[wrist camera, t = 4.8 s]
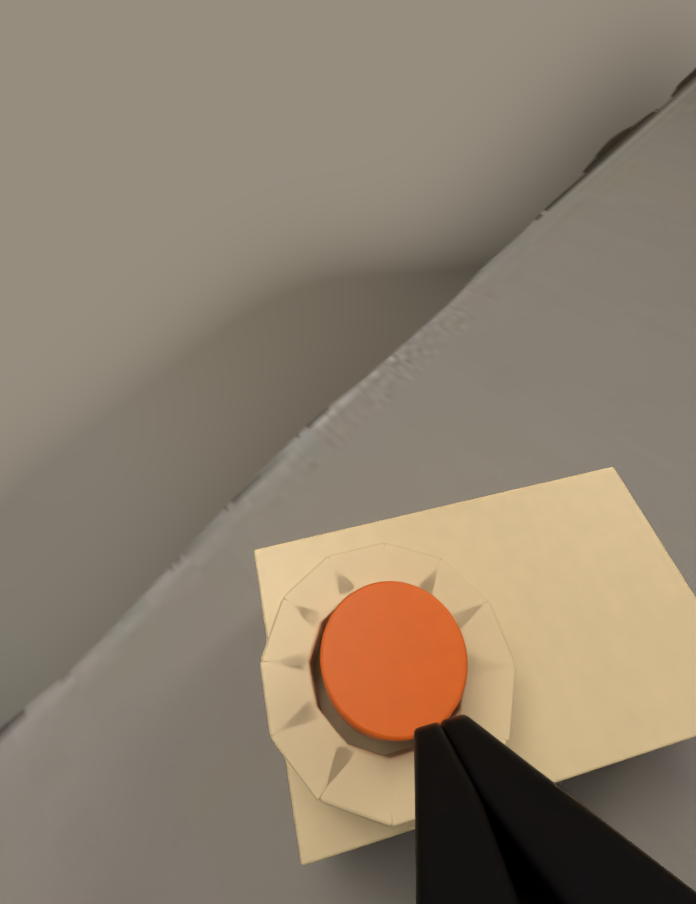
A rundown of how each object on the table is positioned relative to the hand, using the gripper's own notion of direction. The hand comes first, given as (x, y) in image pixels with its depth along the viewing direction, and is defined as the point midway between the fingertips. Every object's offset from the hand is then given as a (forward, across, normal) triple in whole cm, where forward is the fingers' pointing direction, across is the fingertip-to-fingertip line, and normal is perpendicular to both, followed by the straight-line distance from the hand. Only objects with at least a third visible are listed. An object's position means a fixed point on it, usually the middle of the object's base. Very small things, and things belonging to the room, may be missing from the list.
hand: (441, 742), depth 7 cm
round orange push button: (+4, 0, +2) cm, 5 cm away
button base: (+10, -4, +7) cm, 13 cm away
